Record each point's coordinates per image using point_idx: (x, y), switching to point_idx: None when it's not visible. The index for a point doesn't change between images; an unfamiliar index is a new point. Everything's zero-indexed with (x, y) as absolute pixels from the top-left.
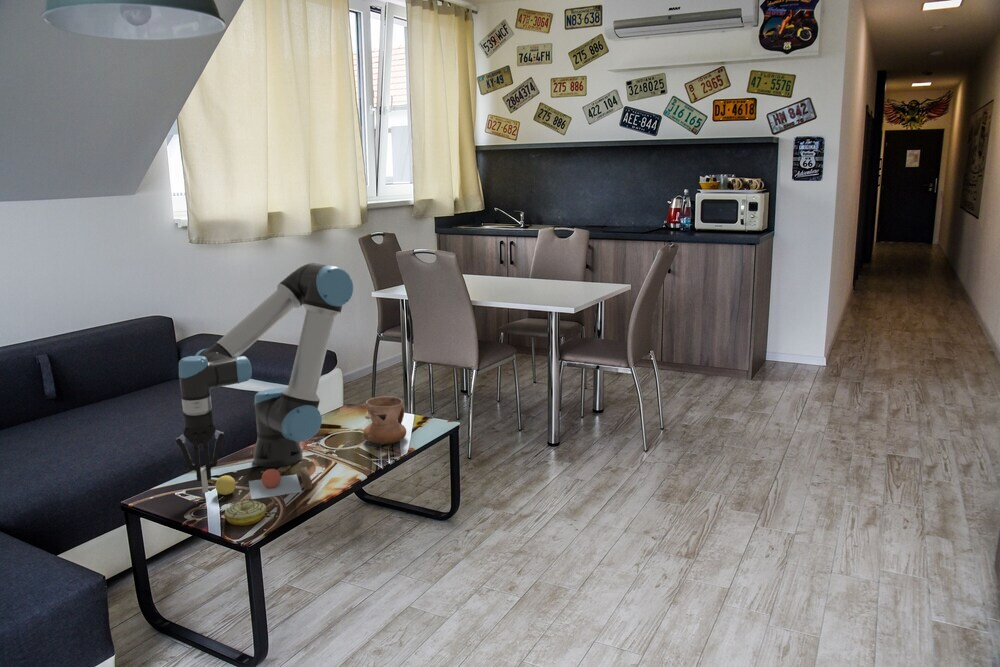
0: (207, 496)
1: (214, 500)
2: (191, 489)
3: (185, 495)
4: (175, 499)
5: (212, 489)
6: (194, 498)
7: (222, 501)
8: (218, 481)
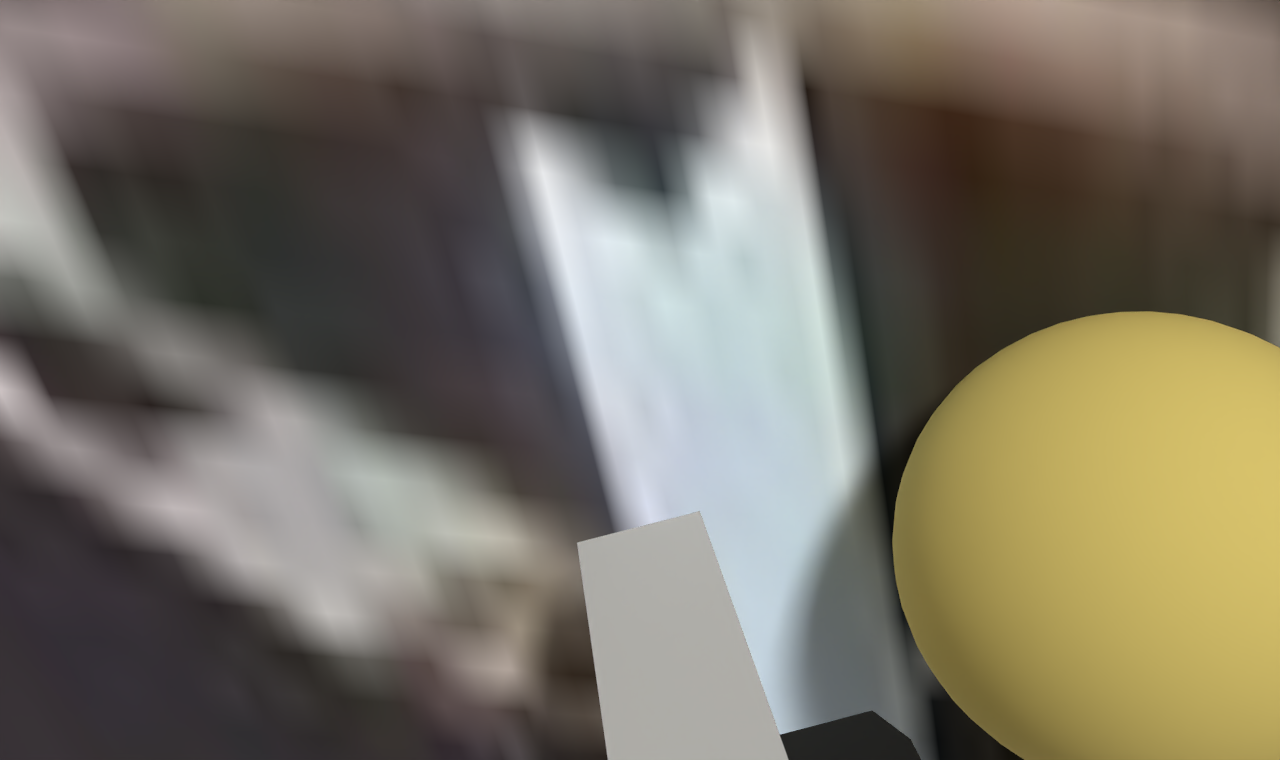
0: (664, 518)
1: (837, 703)
2: (152, 65)
3: (148, 417)
4: (6, 599)
5: (694, 148)
6: (416, 587)
7: (986, 752)
8: (1060, 758)
